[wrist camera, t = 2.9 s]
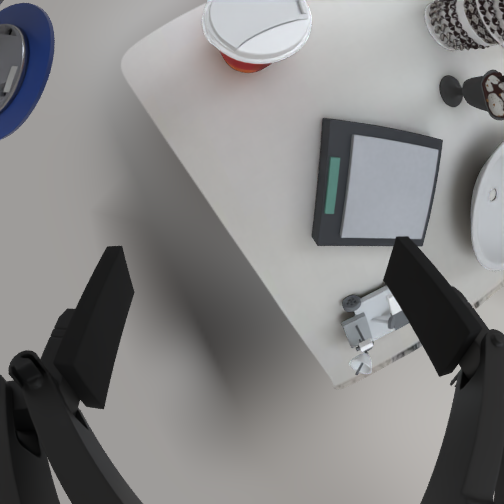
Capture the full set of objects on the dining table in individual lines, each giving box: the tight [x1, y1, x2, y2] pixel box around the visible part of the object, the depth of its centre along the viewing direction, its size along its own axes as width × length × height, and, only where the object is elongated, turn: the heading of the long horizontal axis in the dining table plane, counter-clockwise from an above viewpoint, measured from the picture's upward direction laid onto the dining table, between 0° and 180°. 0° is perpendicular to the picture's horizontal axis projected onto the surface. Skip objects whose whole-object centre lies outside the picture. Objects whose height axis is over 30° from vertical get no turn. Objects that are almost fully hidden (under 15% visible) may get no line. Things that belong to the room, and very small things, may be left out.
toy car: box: [341, 285, 409, 375], centre depth 43 cm, size 18×10×12 cm
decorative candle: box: [424, 0, 504, 51], centre depth 15 cm, size 9×9×25 cm
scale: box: [312, 118, 443, 246], centre depth 36 cm, size 17×16×4 cm
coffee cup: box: [201, 0, 312, 73], centre depth 22 cm, size 8×8×15 cm
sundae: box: [440, 70, 504, 120], centre depth 25 cm, size 7×7×15 cm
